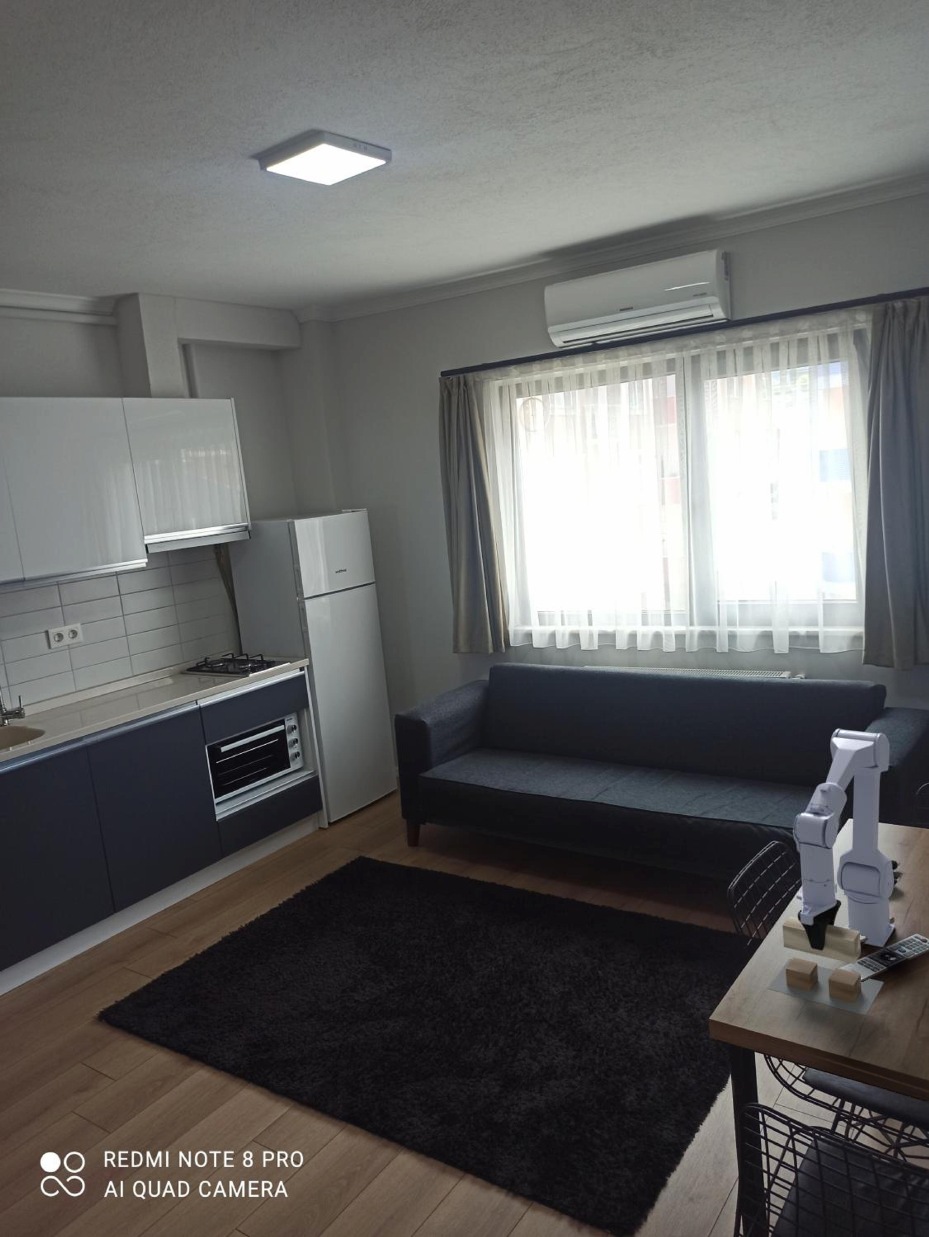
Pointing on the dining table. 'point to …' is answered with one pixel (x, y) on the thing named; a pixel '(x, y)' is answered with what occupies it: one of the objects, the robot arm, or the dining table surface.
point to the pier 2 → (844, 985)
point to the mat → (822, 991)
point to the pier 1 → (802, 974)
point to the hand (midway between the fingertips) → (821, 942)
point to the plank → (837, 941)
